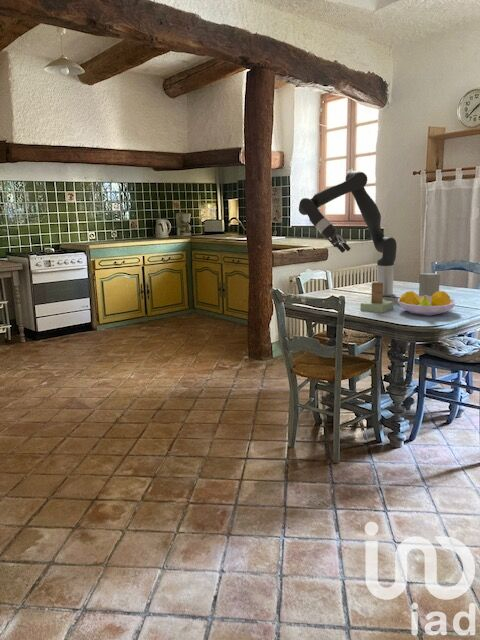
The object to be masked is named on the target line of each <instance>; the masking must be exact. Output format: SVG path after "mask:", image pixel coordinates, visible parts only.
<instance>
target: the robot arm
mask: <svg viewBox="0 0 480 640" xmlns="http://www.w3.org/2000/svg"><path fill="white" fill-rule="evenodd" d="M367 183H368V177H367V174H366V173H365V172H363V171H359V170H351V171H349V172H348V173H347V174H346V176H345V181H343V182H340V183H338V184H336V185H333V186H328V187H326V188H324V189H323V190H320V191H318V192H317V193H315V194H313V196H312V197H311V198H308V197H303V198H301V200H300V201H299V204H298V212H299V214H300V215H303V216H307V217H308V219H309V221H310V223H311V224H312V225H313V226H314V227H315V228H316V229H317V231H318V232H319V233H320V234H321V235H322V237H323V238H324V239H325V240H327V241H329V243H330V244H331V245H332V246H333V247H334V248H336V249H338V250H339V251H340V253H342V254H343V253H344V252H345V251H347V252H350V251H351V249H352V248H351V247H350V245H348V244H347V240H346V239H345V238H344V237H343V236H342V235H341V234H340V233H339V234H338V233H337V232H338V229H337V228H336V227H335V226H334V225H333V224H332V222H330V220H329V219H328V218H326V216H324V215H323V214H322V213H321V212H320V209H319V208H320V207H321V206H324V205H325V204H327V203H330V202H332V201H333V200H335V199H338V198H339V197H341V196H343V195H346V194H349V193H351V194H352V196H353V198H354V200H355V202H356V204H357V207H358V209H359V212H360V215H361V216H362V218H363V219H362V220H364V223H365V224H366V227H367V229H368V232H369V234H370V237H371V239H372V242H373V245H374V248H375V250H376V251H377V252H378V253H381V254H382V257H381V258H380V259H377V260H376V261H377V263H376V266H377V267H376V282H383V296H384V297H386V296H393V294H394V290H393V289H394V268H395V261H396V258H397V257H396V256H397V248H398V247H397V240H396V239H395V238H394V237H393V236H392V237H390V236H385V234H384V232H383V230H382V228H381V223H382V222H381V221H382V220H381V219H382V216H381V212H380V211H379V207H378V205H377V204H376V202H375V201H374V200H373V199H372V197H371V196H370V195H369V193H368V192H367V191H366V188H365V186H366V185H367Z"/></svg>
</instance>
